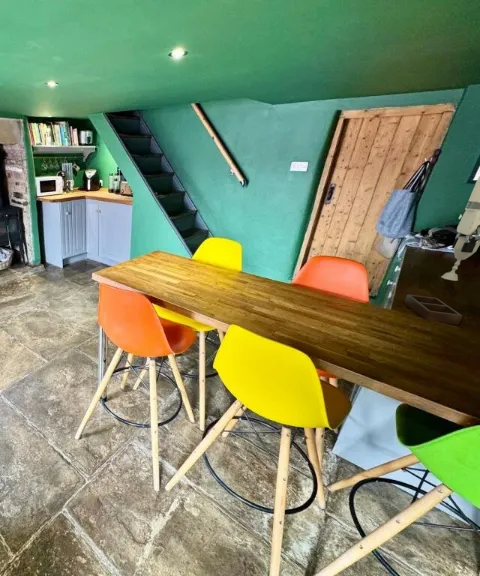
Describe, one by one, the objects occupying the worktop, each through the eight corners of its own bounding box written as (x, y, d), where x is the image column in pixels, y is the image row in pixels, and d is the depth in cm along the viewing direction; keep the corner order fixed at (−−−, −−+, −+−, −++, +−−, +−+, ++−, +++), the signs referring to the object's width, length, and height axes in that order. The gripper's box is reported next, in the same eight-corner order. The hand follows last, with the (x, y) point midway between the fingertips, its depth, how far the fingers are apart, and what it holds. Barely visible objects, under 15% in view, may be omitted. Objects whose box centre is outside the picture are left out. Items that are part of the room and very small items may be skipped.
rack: (432, 308, 137) (436, 297, 135) (457, 327, 121) (462, 315, 119) (403, 304, 141) (407, 294, 139) (423, 322, 125) (428, 311, 123)
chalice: (463, 279, 130) (485, 239, 123) (460, 282, 127) (482, 240, 120) (439, 274, 136) (459, 235, 129) (435, 277, 132) (456, 236, 125)
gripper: (509, 209, 112) (487, 256, 118) (480, 204, 126) (462, 246, 132) (480, 208, 115) (460, 254, 121) (455, 204, 129) (439, 245, 136)
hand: (461, 249), depth 127 cm, fingers closed on chalice, 6 cm apart
